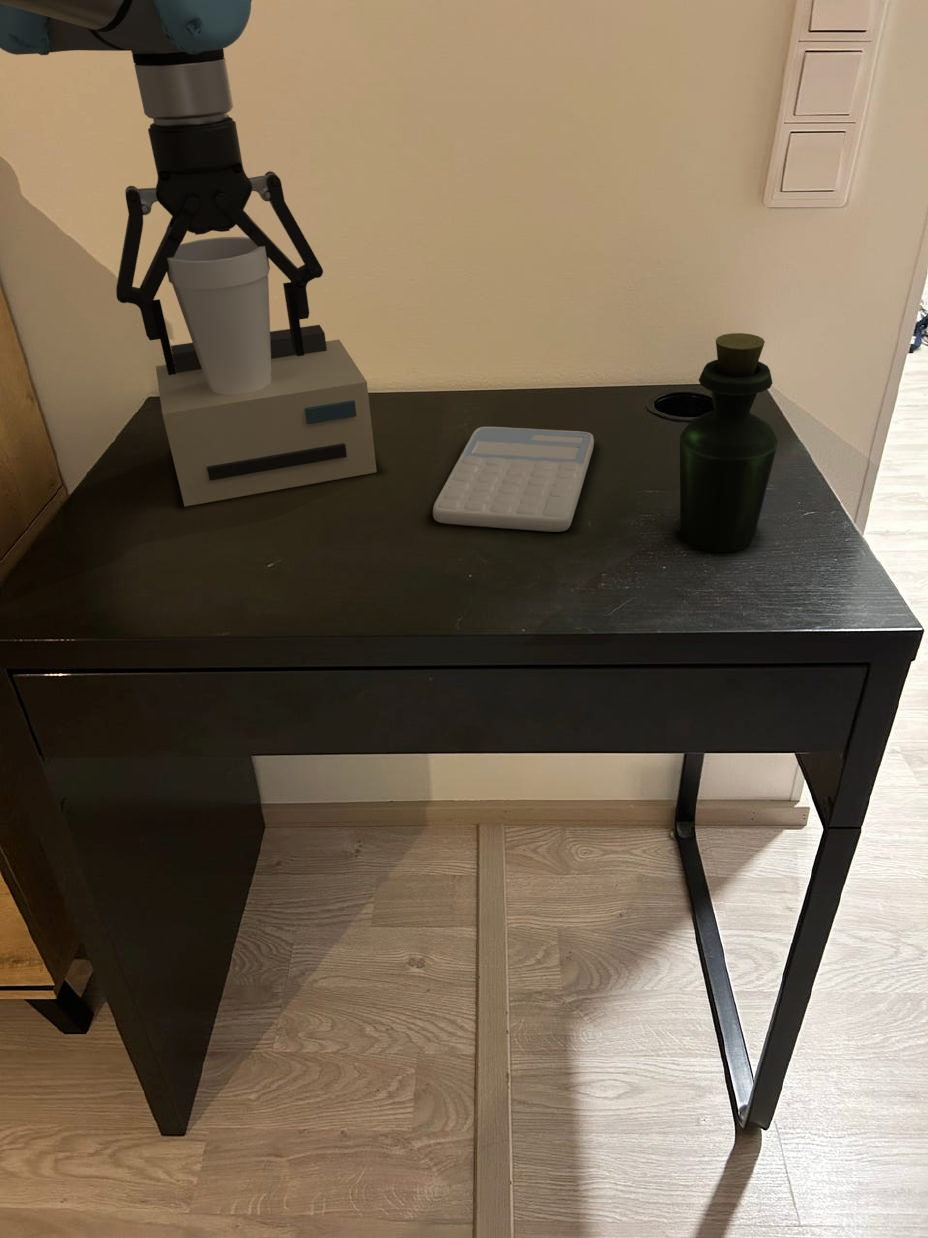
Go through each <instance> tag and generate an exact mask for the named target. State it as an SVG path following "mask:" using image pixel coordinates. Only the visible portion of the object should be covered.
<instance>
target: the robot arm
mask: <svg viewBox="0 0 928 1238" xmlns="http://www.w3.org/2000/svg"><path fill="white" fill-rule="evenodd" d="M252 1H253V0H0V49H1V50H2V51H4V52H6V53H8V54H11V55H16V56H18V55H19V56H20V55H40V56H49V54H50V53H58V52H60V53H61V52H72V51H91V52H94V51H96V52H98V51H99V52H100V51H101V52H102V51H103V52H107V51H108V52H110V51H111V52H126V51H127V52H130V53H131V54H132V55H131V56H132V61H133V64H134V70H135V75H136V80H137V84H138V88H139V89H138V90H139V94H140V99H141V104H142V109H143V113H144V115H145V116H146V117H148V119H152V123H151V124H149V128H148V129H147V133H148V137H149V141H150V146H151V151H152V157H153V160H154V165H155V170H156V174H157V182H156V186H155V187H143V188H137V187H136V186H134V185H128V186H127V187H126V188H125V192H124V193H125V194H124V195H125V201H126V206H127V207H126V208H127V212H128V217H127V222H126V229H125V233H124V241H123V245H122V251H121V257H120V263H119V264H120V265H119V270H118V276H117V281H116V286H115V287H116V288H115V289H116V290H115V292H116V293H115V294H116V299H117V301H119V303H121V304H126V303H128V304H132V305H135V306H137V307H138V309H139V310H140V314H141V318H142V322H143V326H144V331H145V334H146V337H147V338H148V340H149V341H156V340H159V341H160V345H161V349H162V353H163V357H164V362H165V365H166V367H167V371H168V375H174V374H176V370H175V364H174V360H173V355H172V350H171V342H170V339H169V334H168V329H167V325H166V320H165V316H164V312H163V307H162V302H161V299H160V298H158V299H155V298H156V296H157V293H158V291H159V289H160V288H161V286H162V283H163V280H164V279H165V276H166V274H167V270H168V268H169V264H168V260H167V258H173V257H174V256H175V254H176V251H177V249H178V247H179V245H180V244H182V242H183V241H184V239H185V236H186V235H187V232H189V233H190V234H191V233H192V234H195V236H197V235H204V234H207V233H209V232H219V233H223V232H230V230H231V229H233V228H234V227H236V226H237V227H238V228H239V229H240V230H241V231H242V232H243V233H244V234H245V235H246V236H247V238H250V239H251V240H252V241H253V242H254V243H255V244H256V245H257V246H258V247H263V246H265V250H266V256H267V257H268V260H269V261H271V262H272V263H273V264H274V265H275V266H276V267H277V268H278V269H279V270H280V272H282V273H283V275H284V276H285V277H286V278H287V279H288V280H289V282H282V286H283V292H284V297H285V298H284V299H285V305H286V313H287V317H288V318H287V319H288V325H289V329H290V332H291V339H292V346H293V349H294V351H295V353H296V355H297V356H303V355H304V348H303V341H302V334H301V327H302V326H301V320H307V319H308V320H309V316H310V308H309V300H308V292H307V286H308V283H310V282H311V281H312V280H314V279H319V278H321V277H322V276H323V274H324V269H323V267H322V265H321V264H320V262H319V260H318V258H317V257H316V254H315V252H314V251H313V249H312V247H311V246H310V244H309V242H308V240H307V239H306V236H305V235H304V233H303V231H302V229H301V227H300V226H299V224H298V222H297V221H296V219H295V217H294V215H293V214H292V212H291V210H290V208H289V206H288V204H287V203H286V201H285V195H284V190H283V186H282V185H283V184H282V180H281V179H280V177H279V175H277V174H276V173H275V172H274V171H272V170H271V171H266V172H265V174H264V175H259V176H253V177H252V176H251V177H248V176H247V173H246V172H245V169H244V165H243V158H242V153H241V147H240V141H239V134H238V129H237V128H238V127H237V123H236V121H235V120H234V119H233V117H231V116H229V112H231V111H232V110H233V108H234V103H233V98H232V91H231V86H230V85H231V84H230V80H229V74H228V67H227V60H226V57H225V52H224V51H225V48H229V46H231V45H233V44H234V43H235V42H236V41H238V40H239V38H240V37H241V36H242V34H243V33H244V31H245V30H246V27H247V25H248V23H249V21H250V20H249V19H250V16H251V11H252V3H253V2H252ZM252 192H256V193H258V195H259V197H260V198H261V200H263V201H264V202H269V203H270V206H271V208H272V209H273V212H274V213H275V215H276V217H277V218H278V220H279V222H280V224H281V225H282V227H283V229H284V231H285V233H286V234H287V236H288V237H289V240H290V241H291V243H292V245H293V247H294V249H295V250H296V252H297V254H298V255H299V257H300V259H301V260H302V262H303V265H300V266H299V267H297V265H295V264H294V262H292V260H290V258H289V257H288V256H287V255H286V254H285V253H284V252H283V251H282V249H280V248H279V246H278V245H276V243H275V242H274V241H273V240H272V239H271V238H270V237H269V236H268V235H267V234H266V232H264V231H263V229H262V228H260V226H259V225H257V223H256V222H255V221H254V220H253V219H252V218H251V217H250V215H249V214H248V213H247V212H246V211H245V208H246V207H247V206H246V205H247V204H248V201H249V200H250V197H251V195H252ZM157 202H158V203H159V204H160V205H161V206H162V208H164V209H165V210H166V212H168V214H170V216H171V218H170V220H169V223H168V225H167V226H166V230H165V233H164V235H163V237H162V239H161V241H160V243H159V245H158V248H157V250H156V252H155V254H154V256H153V258H152V260H151V262H150V265H149V267H148V269H147V270H146V273H145V275H144V278H143V280H142V282H141V284H140V286H139V287H136V286H134V280H135V273H136V269H137V261H138V257H139V251H140V246H141V240H142V234H143V229H144V216H148V215H149V214H151V212H152V207H153V204H154V203H157Z"/></svg>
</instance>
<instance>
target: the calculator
mask: <svg viewBox="0 0 928 1238" xmlns="http://www.w3.org/2000/svg"><path fill="white" fill-rule="evenodd" d="M594 438H595V437H594V435H593V434H592V433H591V432H588V431H579V430H565V429H564V430H561V429H543V428H542V429H541V428H527V427H525V428H523V427H508V426H507V427H504V426H479V427H477V428H476V429H475V430H474V431H473V433H472V434H471V436H470V438H469V439H468V441H467V443H466V444H465V446H464V448H463V450H462V452H461V454H460V455H459V458H458V460H457V461H456V463H455V465H454V466H453V469H452V471H451V472H450V474H449V476H448V477H447V480H446V482H445V484H443V488H442V489H441V490H440V492H439V494H438V496H437V498H436V500H435V502H434V504H433V507H432V517H433V519H434V521H436V522H437V523H440V524H446V525H456V526H457V525H458V526H470V527H481V528H482V527H483V528H496V529H497V528H498V529H511V530H525V531H536V532H548V533H549V532H553V533H561V532H562V533H563V532H565V531H567V530H568V529H569V528H570V527H571V525H572V522H573V519H574V515H575V512H576V509H577V505H578V502H579V498H580V495H581V491H582V488H583V485H584V481H585V478H586V474H587V471H588V468H589V465H590V461H591V457H592V455H593V451H594V446H595V439H594Z"/></svg>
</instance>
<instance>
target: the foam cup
mask: <svg viewBox="0 0 928 1238" xmlns="http://www.w3.org/2000/svg"><path fill="white" fill-rule="evenodd" d="M167 260H168V264H169V268H168V270H167V272H166V274H167V279H168V282H169V283H170V284H171V285H172V288H173V291H174V293H175V296H176V299H177V302H178V305H179V308H180V311H181V313H182V317H183V319H184V322H185V324H186V325H185V326H186V328H187V332H188V333H189V336H190V339H191V343H193V345H194V348H195V351H196V353H197V356H198V359H199V362H200V365H201V368H202V371H203V373H204V376H205V379H206V382H207V383H208V387H209V389H210V390H212V391H213V392H215V393H219V394H224V395H238V394H244V393H250V392H254V391H257V390H260V389H262V388H265V387H266V386H267V385H269V384H270V383H271V379H272V377H271V372H272V370H271V343H270V332H271V318H270V315H271V314H270V289H269V273H270V269H271V265H270V259H269V258H268V257H267V256H266V250H265V246H263V247H258V246H257V245H256V244H255V243H254V242H253V241H252V240H251V239H250V238H249V237H248V236H247V237H246V236H220V237H211V238H204V239H203V238H202V239H197V240H192V241H188V242H184V243H181V244H180V245H179V247H178V249H177V251H176V254H175V256H174V257H173V258H167Z"/></svg>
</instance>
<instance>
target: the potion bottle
mask: <svg viewBox="0 0 928 1238" xmlns="http://www.w3.org/2000/svg"><path fill="white" fill-rule="evenodd" d="M765 343H766V341H765V340H764V338H763V337H762V336H759V335H755V334H752V333H744V332H738V333H737V332H733V333H732V332H730V333H726V334H722V335H719V336H717V337H716V339H715V347H716V348H715V349H716V357H717V359H713V360H712V361H709V362H707V363H706V364H705V365H704V367H703V369H702V372H701V373H700V375H699V379H698V381H699V384H700V386H702V387H703V388H704V389H706V390H708V391H710V392H711V393H710V394H711V399H712V405H713V410H711V411H709V412H706V413H704V414H701V415H699V416H697V417H694V418H693V419H691V420H690V421H689V423H688V424H687V425H686V427H685V428H684V429H683V431H682V433H681V434H680V435H679V504H680V505H679V513H680V514H679V517H680V519H679V521H680V522H679V523H680V525H679V527H680V528H679V529H680V533H681V537H682V538H683V539H684V540H685V541H686V542H687V543H688V544H689V545H691V546H692V547H694V548H696V549H698V550H701V551H705V552H706V551H707V552H711V553H733V552H736V551H740V550H742V549H744V548H745V547H747V546H749V545H750V544H751V543H753V541H754V538H755V536H756V533H757V528H758V525H759V520H760V516H761V512H762V508H763V504H764V500H765V496H766V492H767V488H768V484H769V480H770V476H771V472H772V468H773V464H774V460H775V457H776V452H777V448H778V444H779V441H778V439H777V436H776V434H775V432H774V429H773V427H772V426H771V424H770V423H768V422H767V421H765V420H764V419H762V418H760V417H758V416H757V415H755V414H753V413H752V412H751V409H752V407H753V404H754V403H755V400H756V397H757V394H759V393H764V392H765V391H767V390H769V389H771V387H772V385H773V379H772V374H771V369H770V368H769V366H768V365H767V364H765V363H764V362H761V361H760V357H761V354H762V351H763V349H764V347H765Z"/></svg>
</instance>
